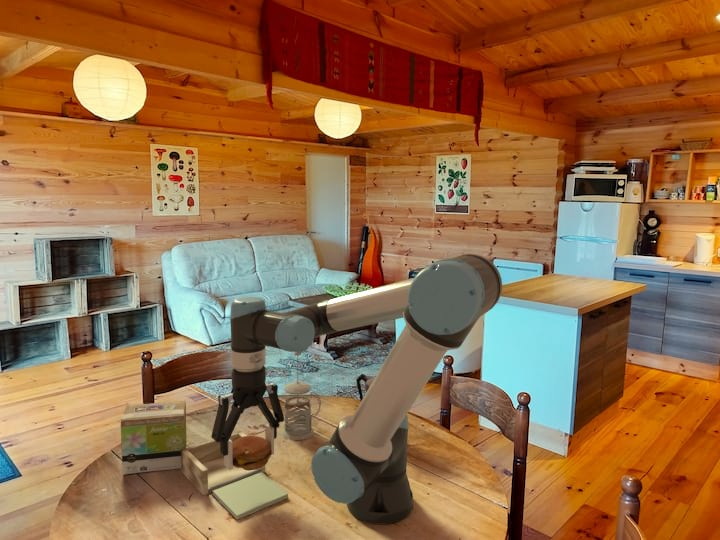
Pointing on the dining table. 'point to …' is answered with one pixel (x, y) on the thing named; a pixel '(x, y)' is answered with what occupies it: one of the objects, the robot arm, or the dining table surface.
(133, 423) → the tea box
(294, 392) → the french press
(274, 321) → the robot arm
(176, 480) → the dining table surface
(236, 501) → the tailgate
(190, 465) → the crate
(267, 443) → the burger
